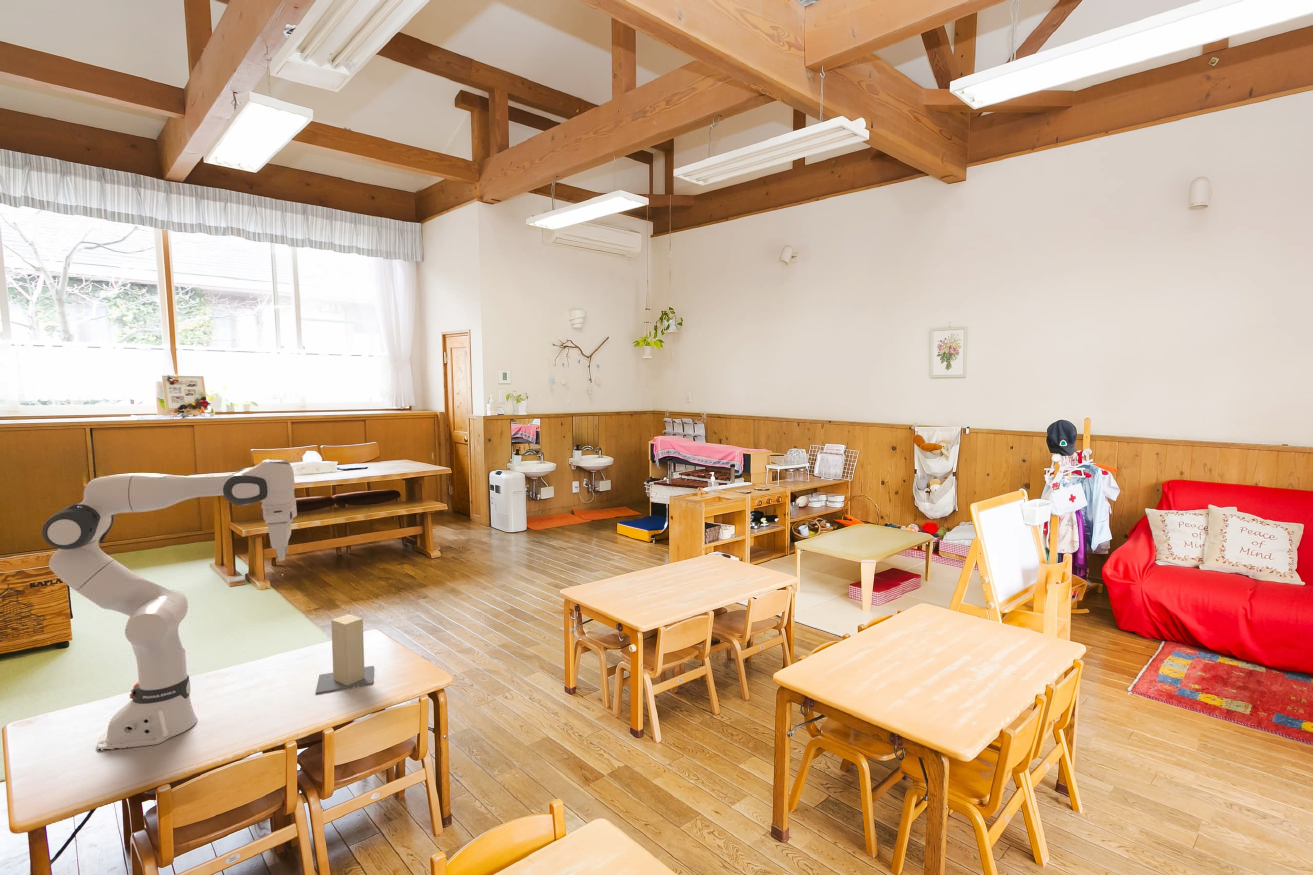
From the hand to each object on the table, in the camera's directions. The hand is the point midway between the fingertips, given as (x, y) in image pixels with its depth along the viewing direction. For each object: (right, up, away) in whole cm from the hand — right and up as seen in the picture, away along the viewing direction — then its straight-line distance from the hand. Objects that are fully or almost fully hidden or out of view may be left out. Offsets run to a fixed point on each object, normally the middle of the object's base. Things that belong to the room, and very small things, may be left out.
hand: (283, 556), depth 194 cm
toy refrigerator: (+11, -45, +20) cm, 51 cm away
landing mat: (+9, -46, +20) cm, 51 cm away
